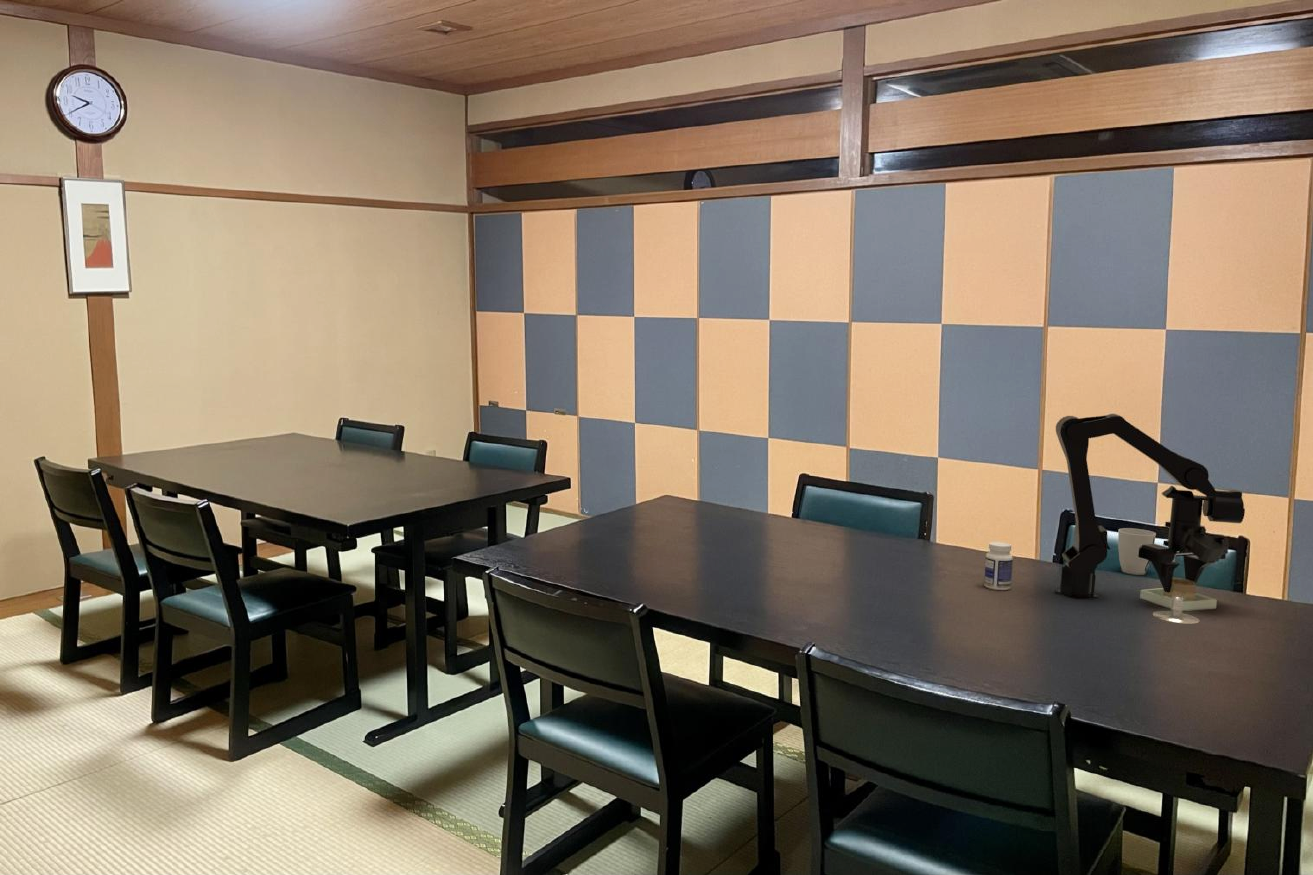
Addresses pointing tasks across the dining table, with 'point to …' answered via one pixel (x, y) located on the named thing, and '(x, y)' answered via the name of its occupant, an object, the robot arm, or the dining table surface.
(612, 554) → the dining table surface
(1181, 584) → the ring
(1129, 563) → the cup
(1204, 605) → the dish
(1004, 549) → the pill bottle
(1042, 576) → the dining table surface
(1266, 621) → the dining table surface
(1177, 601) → the clear stemmed base
